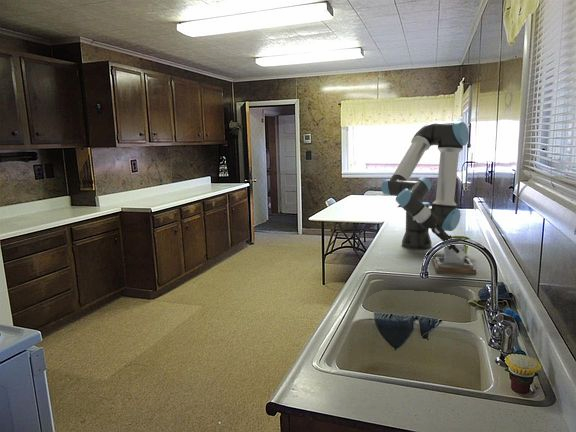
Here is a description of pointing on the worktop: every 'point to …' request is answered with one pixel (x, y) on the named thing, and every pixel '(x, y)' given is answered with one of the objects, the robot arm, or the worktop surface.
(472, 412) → the worktop surface
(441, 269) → the walnut stand
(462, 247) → the medicine box
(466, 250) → the plant pot
